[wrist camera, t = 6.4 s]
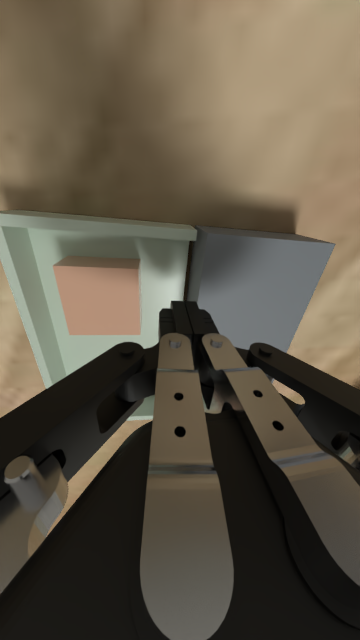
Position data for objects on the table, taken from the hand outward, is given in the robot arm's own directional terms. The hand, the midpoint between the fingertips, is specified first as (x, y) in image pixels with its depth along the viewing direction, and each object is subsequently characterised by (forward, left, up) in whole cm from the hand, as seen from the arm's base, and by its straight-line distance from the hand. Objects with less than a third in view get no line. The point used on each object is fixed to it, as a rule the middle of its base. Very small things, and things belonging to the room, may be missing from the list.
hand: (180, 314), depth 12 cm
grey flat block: (+4, +5, -5) cm, 8 cm away
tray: (+4, -5, -5) cm, 8 cm away
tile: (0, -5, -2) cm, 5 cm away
